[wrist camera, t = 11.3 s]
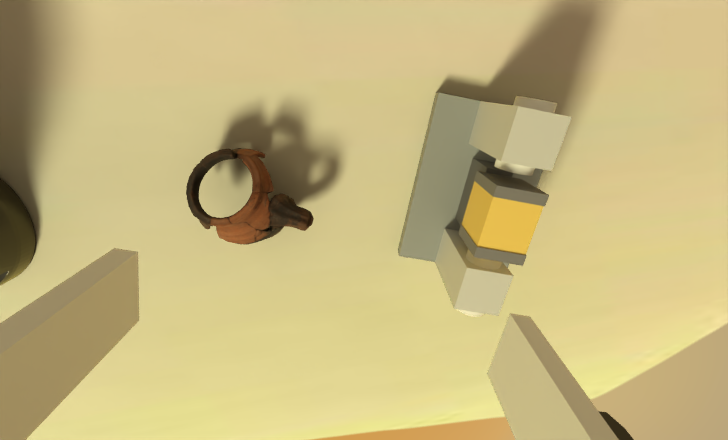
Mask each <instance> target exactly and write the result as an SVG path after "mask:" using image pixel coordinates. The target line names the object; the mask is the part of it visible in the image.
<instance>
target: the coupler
mask: <svg viewBox="0 0 728 440" xmlns="http://www.w3.org/2000/svg"><path fill="white" fill-rule="evenodd" d="M548 197H549V195H548V194H546V193H544V192H543V191H541V190H539V189H538V188H536V187H534V186H533V185H531V184H529V183H528V182H526V181H524V180H522V179H519V178H513V177H508V176H503V175H498V174H492V173H487V172H482V171H477V172H476V176H475V179H474V184H473V188H472V191H471V194H470V198H469V201H468V204H467V208H466V211H465V215H464V218H463V221H462V224H461V226H460V229H459V235H460V237H461V238H462V240H463V241H464V243H465V244H466V246H467V247H468V249H469V250H470V252H471V254H472V255H473V257H476V258H481V259H487V260H493V261H499V262H504V263H510V264H516V265H522V266H523V264H524V261H525V258H526V252H527V249H528V247H529V244H530V241H531V239H532V236H533V233H534V231H535V228H536V225H537V223H538V220H539V217H540V214H541V212H542V209H543V206H545V205H546V202H547V199H548Z"/></svg>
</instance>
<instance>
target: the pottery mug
mask: <svg viewBox="0 0 728 440" xmlns="http://www.w3.org/2000/svg"><path fill="white" fill-rule="evenodd" d="M258 157H261V158H265V154H263V153H262V152H259V151H255V150H251V149H241V148H238V149H234V150H231V149H224V150H219V151H217V152H213V153H211V154H209V155H207V156H206V157H205V158H204V159H202V160H201V162H200V163H199V164H197V166H196V167H195V168H194V169H193V172H192V173H191V175H190V177H189V180H188V183H187V190H186V194H187V200H188V204H189V207H190V209H191V212H192V213H193V215H194V216H195V217H197V218H198V219H199V221H200V223H201V224H202V225H203V226H204V227H205V228H206V229H210V226H216V230H217V233H218V235H219V238H222V239H224V240H226V241H228V242H232V243H237V244H251V243H255V242H258V241H262V240H264V239H267V238H270V237H272V236H274V235H276V234H277V233H278V232H280V231H281V229H282V228H283V227H284V226H290V227H294V228H297V229H300V230H304V231H305V230H307V228H308V227H309V226H311V225H312V223H313V216H312V214H311V212H310V211H308V210H306V209H304V208H301V207H298V206H296V204H295V202H294V200H293V199H292V198H289V197H288V196H286V195H285V194H279V195H275V196H274V197H273V198H272V199H271V201H269V198H268V193H270V192H273V191H274V188H273V185H272V181H271V179H270V175H269V173H268V171H267V169H266V167H265V165H264V163H263V162H262V161H261V160H260V159H259V158H258ZM236 158H240V159H243V160H242V162H243V163H244V164H245V165H246V166H247V167H248V169H249V170H250V172H251V175H252V180H253V187H252V194H251V196H250V198H249V200H248V202H247V203H246V205H245V206H244V207H243V208H242V209H241V210H240V211H238V212H237V213H236V214H234V215H232V216H229V217H225V218H216V217H212V216H210V215H208V214H207V213H206V212H205V211H204V210H203V209H202V207H201V205H200V202H199V187H200V183H201V181H202V179H203V177H204V175H205V174H206V173H207V172H208V170H209V169H210V168H211V167H213V166H214V165H215V164H217V163H218V162H221V161H223V160H228V159H236ZM269 226H272V227H270V228H268V227H269Z"/></svg>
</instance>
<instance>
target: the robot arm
mask: <svg viewBox="0 0 728 440" xmlns="http://www.w3.org/2000/svg"><path fill="white" fill-rule="evenodd" d="M34 250H35V233H34V228H33V224H32V221H31V218H30V216H29V214H28V212H27V210H26V208H25V206H24V205H23V203H22V202H21V200H20V199H19V197H18V196H17V195H16V194H15V192H14V191H13V190H12V189H11V188H10V187H9V186H8V185H7V184H6V183H5V182H4V181H3V180H1V179H0V285H2V284H4V283H6V282H8V281H9V280H11V279H13V278H15V277H16V276H18V275H19V274H21V273H22V272H23V271H24V270H25V269H26V268H27V266H28V265H29V263H30V261H31V259H32V257H33V254H34ZM138 321H139V285H138V252H134V251H128V250H122V249H116V248H114V249H113V250H111V251H110V252H108V253H107V254H105V255H104V256H102V257H100V258H99V259H97V260H96V261H94V262H93V263H91V264H90V265H88V266H87V267H85V268H84V269H82V270H81V271H79V272H78V273H76V274H75V275H73V276H72V277H70V278H69V279H67V280H66V281H64V282H62V283H61V284H59V285H58V286H56V287H55V288H53V289H52V290H50V291H49V292H47V293H46V294H44V295H43V296H41V297H40V298H38V299H37V300H35V301H34V302H32V303H31V304H29V305H28V306H26V307H24V308H23V309H21V310H20V311H18V312H17V313H15V314H14V315H12V316H11V317H9V318H8V319H6V320H5V321H3V322H2V323H0V440H26V439H27V438H28V437H29V436H30V435H31V433H32V432H33V431H34V430H35V429H36V428H37V427H38V426H39V425H40V424H41V423H42V422H43V421H44V420H45V419H46V418H47V417H48V416H49V415H50V413H51V412H52V411H53V410H54V409H55V408H56V407H57V406H58V405H59V404H60V403H61V402H62V401H63V400H64V399H65V398H66V397H67V396H68V395H69V393H70V392H71V391H72V390H73V389H74V388H75V387H76V386H77V385H78V384H79V383H80V382H81V381H82V380H83V379H84V378H85V377H86V376H87V375H88V373H89V372H90V371H91V370H92V369H93V368H94V367H95V366H96V365H97V364H98V363H99V362H100V361H101V360H102V359H103V358H104V357H105V356H106V355H107V353H108V352H109V351H110V350H111V349H112V348H113V347H114V346H115V345H116V344H117V343H118V342H119V341H120V340H121V339H122V338H123V337H124V336H125V335H126V333H127V332H128V331H129V330H130V329H131V328H132V327H133V326H134V325H135V324H136V323H137V322H138ZM487 374H488V377H489V379H490V381H491V384H492V386H493V388H494V391H495V393H496V395H497V398H498V400H499V402H500V404H501V407H502V409H503V411H504V414H505V416H506V418H507V421H508V423H509V425H510V428H511V430H512V432H513V435H514V437H515V439H516V440H633V438H632V437H631V436H630V434H629V433H628V432H627V431H626V429H625V428H624V427H622V426H621V425H620V424H619V423H618V422H617V421H616V420H614V419H613V418H612V417H611V416H610V415H609V414H608V413H606V412H599V411H598V410H597V409H596V407H595V406H594V405H593V403H592V402H591V401H590V399H589V398H588V396H587V395H586V394H585V392H584V391H583V389H582V388H581V387H580V385H579V384H578V383H577V381H576V380H575V378H574V377H573V376H572V374H571V373H570V371H569V370H568V369H567V367H566V366H565V364H564V363H563V362H562V360H561V359H560V358H559V356H558V355H557V353H556V352H555V351H554V349H553V348H552V346H551V345H550V344H549V342H548V341H547V340H546V338H545V337H544V335H543V334H542V333H541V331H540V330H539V328H538V327H537V326H536V324H535V323H534V322H533V320H532V319H531V317H529V316H523V315H516V314H509V317H508V320H507V322H506V325H505V328H504V330H503V333H502V335H501V338H500V341H499V343H498V346H497V349H496V351H495V354H494V357H493V359H492V362H491V364H490V367H489V370H488V372H487Z"/></svg>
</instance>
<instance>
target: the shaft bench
mask: <svg viewBox="0 0 728 440" xmlns="http://www.w3.org/2000/svg"><path fill="white" fill-rule="evenodd" d="M556 107H557V103H554V102H550V101H545V100H540V99H535V98H529V97H523V96H516V98H515V101H514V104H513V105H506V104H498V103H491V102H484V101H478V100H473V99H468V98H463V97H458V96H453V95H448V94H444V93H438V92H436V95H435V99H434V103H433V107H432V111H431V115H430V120H429V124H428V128H427V132H426V136H425V140H424V144H423V148H422V153H421V157H420V161H419V165H418V169H417V173H416V177H415V181H414V186H413V190H412V194H411V198H410V202H409V206H408V210H407V215H406V219H405V223H404V227H403V231H402V235H401V239H400V243H399V248H398V253H399V256H403V257H409V258H415V259H421V260H426V261H432V262H435V263H436V266H437V268H438V271H439V273H440V275H441V278H442V280H443V283H444V285H445V288H446V290H447V293H448V295H449V298H450V300H451V302H452V305H453V307H454V309H457V310H458V311H459V312H461V313H463V314H466V315H469V316H474V317H478V316H482V315H483V314H489V315H495V316H499V314H500V311H501V308H502V305H503V303H504V300H505V297H506V294H507V292H508V289H509V286H510V284H511V281H512V278H513V275H512V273H511V272H510V271H509V270H508V265H509V263H504V262H499V261H493V260H487V259H481V258H476V257H473V255H472V254H471V252H470V250H469V249H468V247H467V246H466V244H465V243H464V241H463V240H462V238H461V237H460V235H459V229H460V226H461V224H462V221H463V218H464V215H465V211H466V208H467V204H468V201H469V198H470V194H471V191H472V188H473V184H474V179H475V176H476V172H477V171H482V172H487V173H492V174H498V175H503V176H508V177H513V178H519V179H522V180H524V181H526V182H528V183H529V184H531V185H533V186H534V187H537V184H538V182H539V179H540V176H541V173H542V170H548V171H552V169H553V167H554V164H555V161H556V159H557V156H558V153H559V150H560V148H561V145H562V142H563V140H564V137H565V134H566V131H567V129H568V126H569V123H570V121H571V118H572V117H569V116H564V115H559V114H554V113H555V110H556Z"/></svg>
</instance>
